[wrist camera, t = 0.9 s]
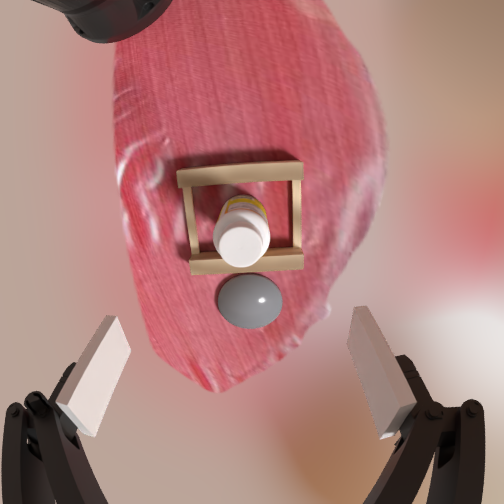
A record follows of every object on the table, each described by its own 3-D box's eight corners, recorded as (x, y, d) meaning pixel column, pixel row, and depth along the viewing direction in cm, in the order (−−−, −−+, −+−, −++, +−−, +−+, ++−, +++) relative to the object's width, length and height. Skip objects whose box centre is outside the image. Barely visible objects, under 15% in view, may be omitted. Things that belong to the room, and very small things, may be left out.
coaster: (214, 275, 37) (214, 277, 37) (281, 271, 37) (282, 273, 36) (222, 327, 41) (221, 329, 40) (282, 324, 40) (282, 326, 40)
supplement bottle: (240, 245, 35) (236, 286, 26) (211, 212, 34) (196, 243, 24) (275, 219, 34) (284, 252, 25) (247, 184, 32) (245, 204, 23)
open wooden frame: (181, 168, 31) (176, 171, 29) (299, 160, 31) (303, 162, 29) (194, 266, 37) (191, 275, 34) (300, 260, 36) (303, 269, 34)
